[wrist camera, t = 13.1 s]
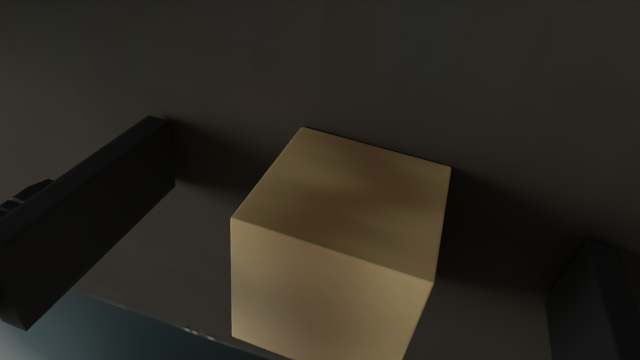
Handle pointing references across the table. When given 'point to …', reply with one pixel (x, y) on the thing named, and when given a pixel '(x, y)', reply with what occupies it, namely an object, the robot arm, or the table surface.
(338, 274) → the block
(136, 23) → the table surface
